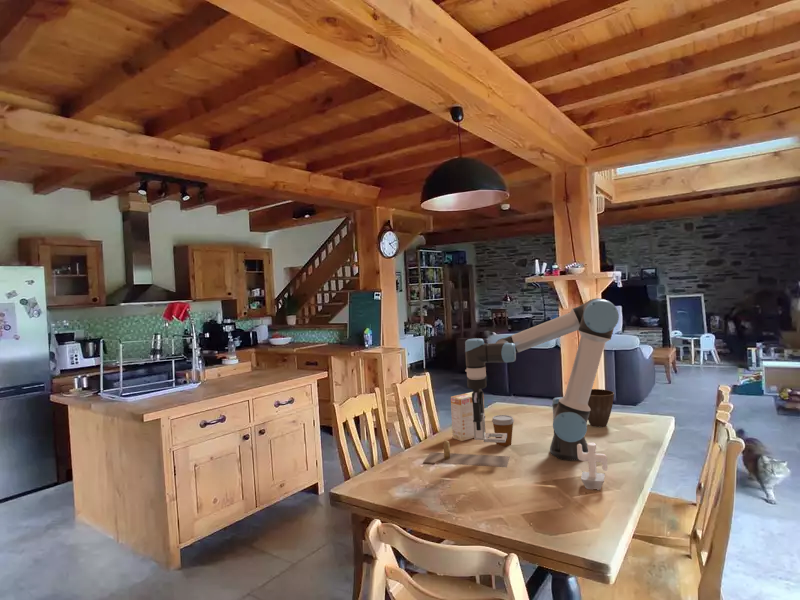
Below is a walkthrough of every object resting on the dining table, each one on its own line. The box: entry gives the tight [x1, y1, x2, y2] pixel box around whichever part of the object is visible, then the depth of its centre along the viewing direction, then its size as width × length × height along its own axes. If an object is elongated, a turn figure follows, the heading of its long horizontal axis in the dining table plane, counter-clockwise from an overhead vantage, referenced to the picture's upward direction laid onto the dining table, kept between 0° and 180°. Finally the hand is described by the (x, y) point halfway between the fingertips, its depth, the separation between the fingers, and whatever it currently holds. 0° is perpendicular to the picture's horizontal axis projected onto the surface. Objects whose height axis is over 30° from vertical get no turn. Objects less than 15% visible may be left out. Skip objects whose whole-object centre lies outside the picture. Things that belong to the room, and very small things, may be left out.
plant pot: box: [587, 388, 615, 428], centre depth 240 cm, size 15×15×16 cm
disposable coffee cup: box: [491, 414, 515, 447], centre depth 218 cm, size 10×10×12 cm
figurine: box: [577, 441, 609, 491], centre depth 170 cm, size 7×9×15 cm
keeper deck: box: [422, 439, 510, 468], centre depth 201 cm, size 33×12×8 cm, turn 72°
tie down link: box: [473, 413, 507, 443], centre depth 198 cm, size 12×8×10 cm
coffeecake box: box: [450, 391, 487, 442], centre depth 233 cm, size 15×7×20 cm, turn 123°
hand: (480, 436), depth 199 cm, fingers closed on tie down link, 3 cm apart
